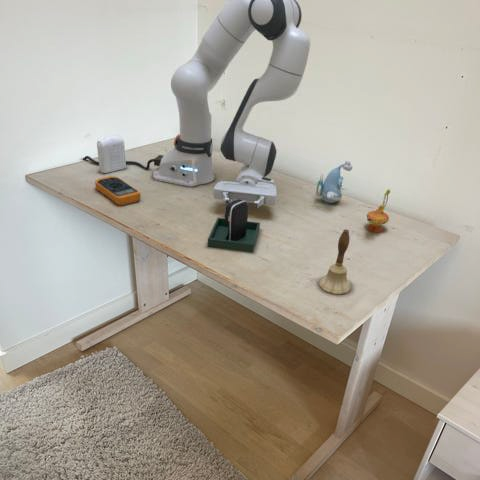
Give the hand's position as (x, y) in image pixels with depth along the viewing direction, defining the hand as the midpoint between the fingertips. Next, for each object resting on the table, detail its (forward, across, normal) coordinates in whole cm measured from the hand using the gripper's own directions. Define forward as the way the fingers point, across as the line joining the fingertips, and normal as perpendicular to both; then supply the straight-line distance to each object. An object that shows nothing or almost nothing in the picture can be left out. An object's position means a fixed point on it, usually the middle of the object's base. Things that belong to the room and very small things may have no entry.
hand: (241, 203), depth 152 cm
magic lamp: (-6, +42, +7) cm, 43 cm away
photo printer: (-31, -53, +7) cm, 62 cm away
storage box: (+10, 0, +7) cm, 12 cm away
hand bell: (+30, +30, +7) cm, 43 cm away
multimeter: (-10, -44, +7) cm, 45 cm away
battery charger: (+10, 0, +7) cm, 12 cm away
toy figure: (-24, +28, +7) cm, 38 cm away
